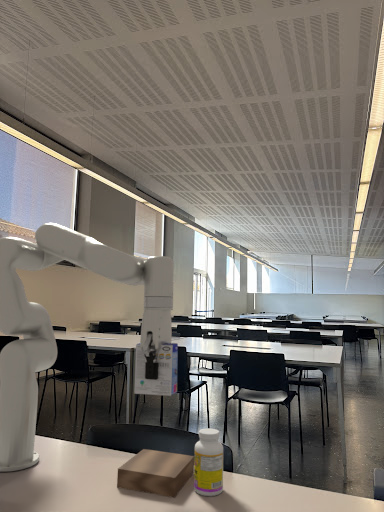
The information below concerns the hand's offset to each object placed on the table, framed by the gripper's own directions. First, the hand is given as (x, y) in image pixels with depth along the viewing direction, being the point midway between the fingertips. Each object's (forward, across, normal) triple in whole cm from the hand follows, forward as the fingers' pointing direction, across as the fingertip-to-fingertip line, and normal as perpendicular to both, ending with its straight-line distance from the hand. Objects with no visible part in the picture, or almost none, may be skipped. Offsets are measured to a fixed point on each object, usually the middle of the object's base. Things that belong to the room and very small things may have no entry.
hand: (156, 376), depth 97 cm
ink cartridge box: (+4, 0, 0) cm, 4 cm away
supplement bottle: (+24, +1, +14) cm, 28 cm away
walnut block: (+24, 0, +1) cm, 24 cm away
